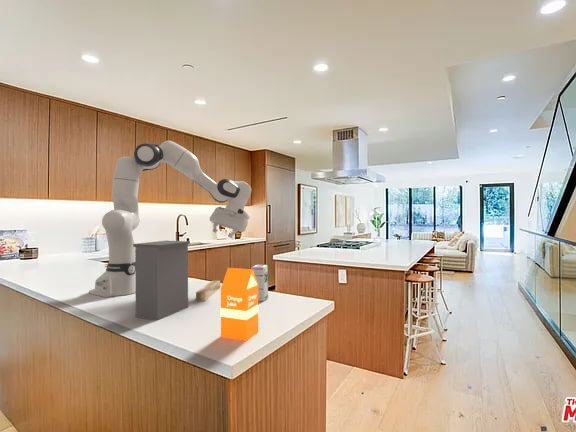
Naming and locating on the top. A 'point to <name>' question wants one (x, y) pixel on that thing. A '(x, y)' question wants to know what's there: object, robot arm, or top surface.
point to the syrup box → (261, 281)
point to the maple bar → (207, 291)
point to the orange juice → (239, 304)
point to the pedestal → (161, 278)
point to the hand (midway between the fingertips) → (221, 234)
